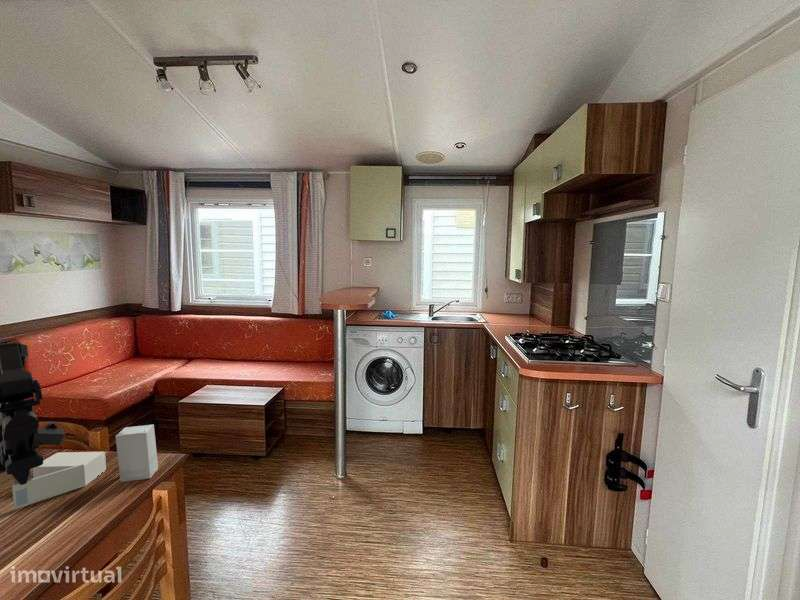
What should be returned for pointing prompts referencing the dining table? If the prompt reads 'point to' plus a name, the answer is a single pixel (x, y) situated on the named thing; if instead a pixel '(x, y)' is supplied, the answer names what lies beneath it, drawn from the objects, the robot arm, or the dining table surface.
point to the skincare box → (136, 453)
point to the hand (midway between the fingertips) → (23, 483)
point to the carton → (73, 464)
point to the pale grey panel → (47, 485)
